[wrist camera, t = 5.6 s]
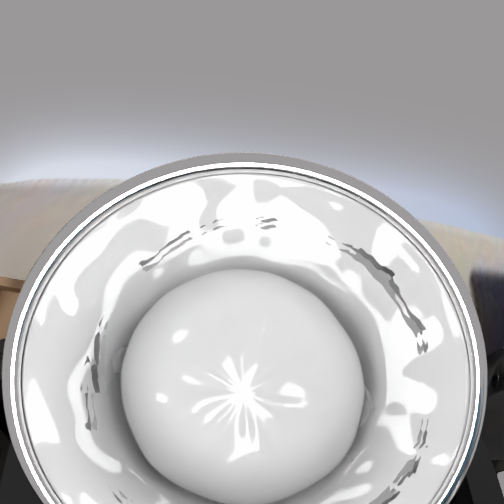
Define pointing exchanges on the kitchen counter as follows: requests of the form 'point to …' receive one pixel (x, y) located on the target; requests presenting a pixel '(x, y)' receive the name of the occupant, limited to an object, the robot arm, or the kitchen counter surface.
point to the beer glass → (244, 345)
